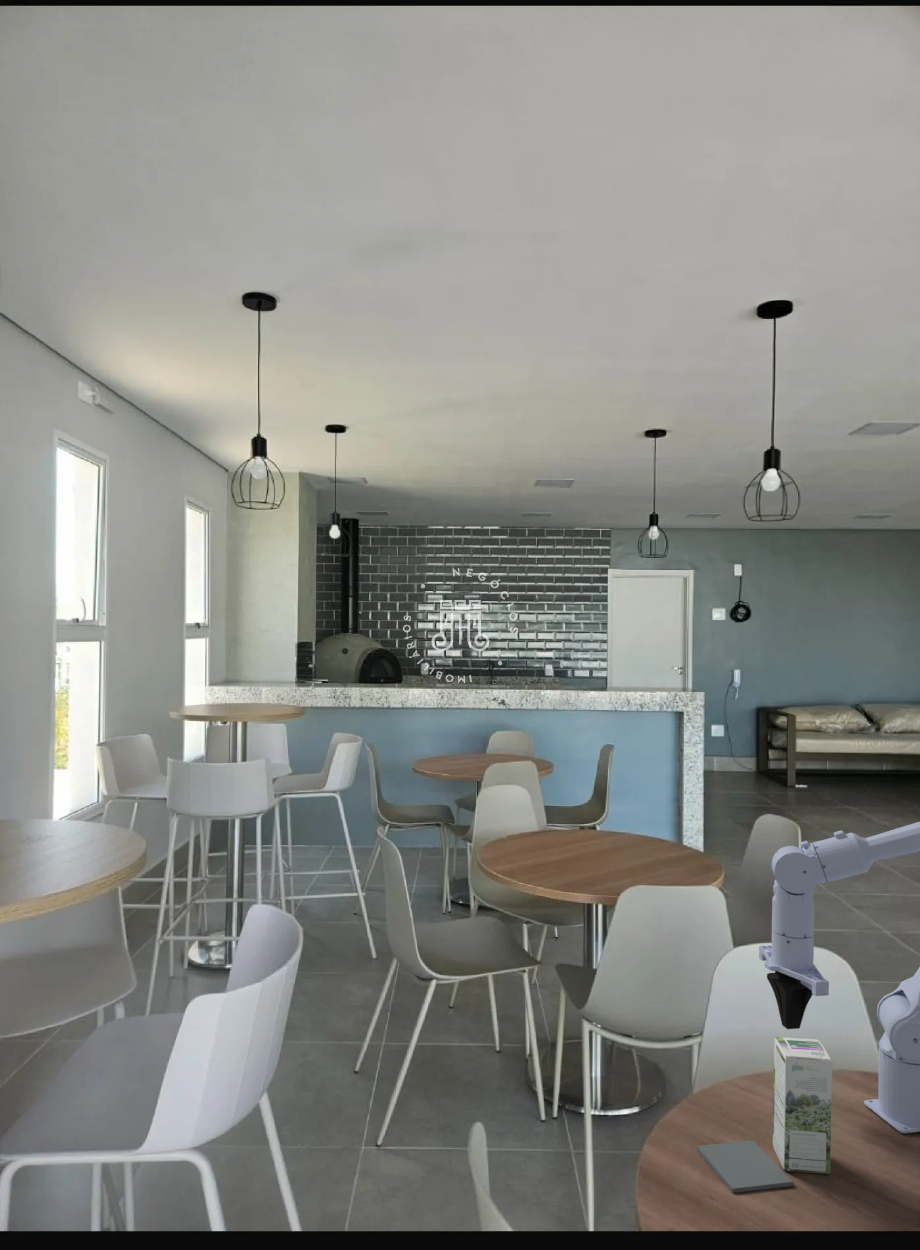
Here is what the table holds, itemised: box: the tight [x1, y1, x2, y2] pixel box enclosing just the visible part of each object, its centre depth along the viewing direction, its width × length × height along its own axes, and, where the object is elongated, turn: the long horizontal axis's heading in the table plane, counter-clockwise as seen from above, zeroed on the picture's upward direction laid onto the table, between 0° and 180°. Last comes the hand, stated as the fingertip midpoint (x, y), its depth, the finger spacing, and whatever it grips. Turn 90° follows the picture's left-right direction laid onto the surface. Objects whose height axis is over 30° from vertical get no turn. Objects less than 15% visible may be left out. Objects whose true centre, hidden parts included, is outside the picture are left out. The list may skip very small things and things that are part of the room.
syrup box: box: [771, 1036, 833, 1175], centre depth 111 cm, size 6×6×14 cm
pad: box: [696, 1139, 794, 1194], centre depth 109 cm, size 8×9×1 cm
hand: (790, 1026), depth 126 cm, fingers closed
